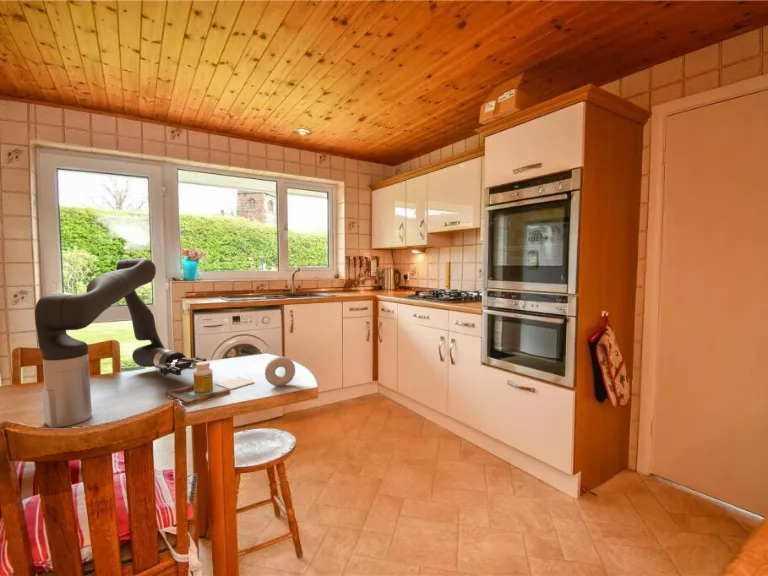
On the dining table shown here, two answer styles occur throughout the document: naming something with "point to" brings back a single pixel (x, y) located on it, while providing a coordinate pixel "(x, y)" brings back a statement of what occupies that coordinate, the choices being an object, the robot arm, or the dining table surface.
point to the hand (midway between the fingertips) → (193, 369)
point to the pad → (234, 383)
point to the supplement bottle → (203, 379)
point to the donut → (286, 377)
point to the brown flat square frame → (191, 399)
